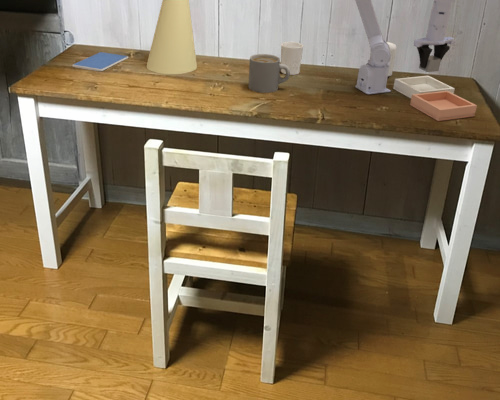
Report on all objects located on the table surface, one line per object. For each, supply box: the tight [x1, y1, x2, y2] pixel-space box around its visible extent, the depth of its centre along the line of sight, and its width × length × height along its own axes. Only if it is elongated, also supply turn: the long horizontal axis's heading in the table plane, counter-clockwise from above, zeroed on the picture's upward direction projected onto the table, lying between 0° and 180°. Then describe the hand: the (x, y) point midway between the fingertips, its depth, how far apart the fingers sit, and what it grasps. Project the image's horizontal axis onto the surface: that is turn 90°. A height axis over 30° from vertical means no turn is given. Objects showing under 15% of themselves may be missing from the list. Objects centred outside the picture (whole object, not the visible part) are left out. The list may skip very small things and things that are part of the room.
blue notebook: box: [71, 51, 129, 72], centre depth 207 cm, size 19×13×1 cm, turn 161°
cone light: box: [146, 0, 198, 75], centre depth 200 cm, size 25×18×35 cm
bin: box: [409, 91, 478, 122], centre depth 178 cm, size 14×14×4 cm
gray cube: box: [418, 54, 442, 73], centre depth 186 cm, size 4×4×4 cm
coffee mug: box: [248, 53, 291, 94], centre depth 187 cm, size 13×10×10 cm
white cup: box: [280, 41, 304, 76], centre depth 203 cm, size 8×8×10 cm
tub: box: [392, 75, 456, 99], centre depth 191 cm, size 14×14×4 cm
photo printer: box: [368, 41, 397, 77], centre depth 203 cm, size 10×4×12 cm, turn 123°
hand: (429, 67), depth 186 cm, fingers closed on gray cube, 4 cm apart
